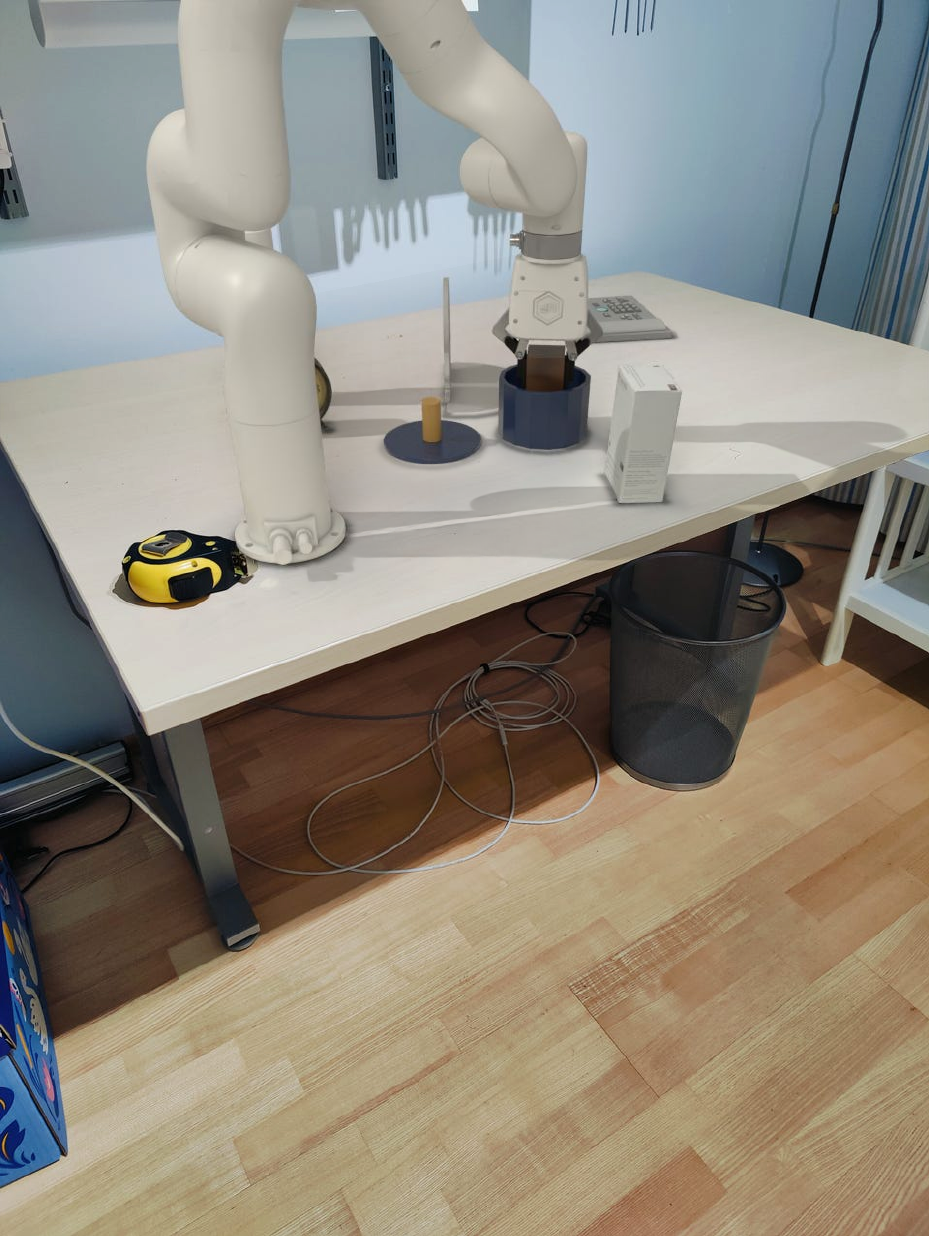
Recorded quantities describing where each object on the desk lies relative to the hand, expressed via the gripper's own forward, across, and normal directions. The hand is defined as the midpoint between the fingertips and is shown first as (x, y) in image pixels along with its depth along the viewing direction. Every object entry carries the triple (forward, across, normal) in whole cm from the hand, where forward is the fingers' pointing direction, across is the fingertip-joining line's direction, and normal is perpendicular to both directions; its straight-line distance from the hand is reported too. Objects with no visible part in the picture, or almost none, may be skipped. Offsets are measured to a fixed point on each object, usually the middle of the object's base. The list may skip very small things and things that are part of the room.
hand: (545, 383), depth 119 cm
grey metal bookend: (+8, -9, +17) cm, 21 cm away
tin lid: (+7, -15, -6) cm, 17 cm away
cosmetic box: (+8, +12, -16) cm, 21 cm away
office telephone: (+8, +9, +53) cm, 55 cm away
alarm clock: (+8, -35, -2) cm, 36 cm away
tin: (+7, 0, 0) cm, 7 cm away
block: (0, 0, 0) cm, 0 cm away
